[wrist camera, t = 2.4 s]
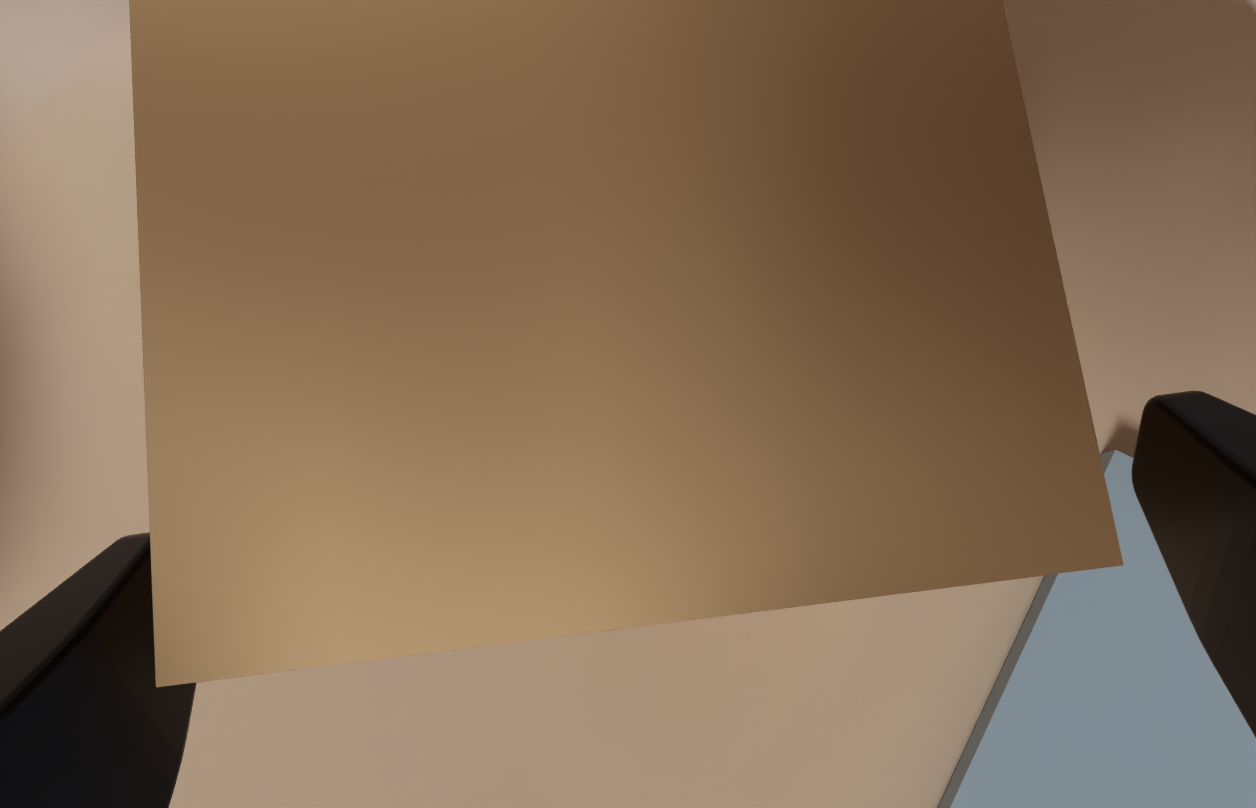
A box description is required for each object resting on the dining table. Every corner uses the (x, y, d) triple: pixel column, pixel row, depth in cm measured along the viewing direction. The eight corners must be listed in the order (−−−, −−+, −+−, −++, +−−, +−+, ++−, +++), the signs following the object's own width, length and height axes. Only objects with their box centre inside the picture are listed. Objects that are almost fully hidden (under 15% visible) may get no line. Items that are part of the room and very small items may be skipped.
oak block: (824, 565, 18) (1122, 565, 5) (554, 600, 18) (156, 687, 5) (781, 303, 18) (938, -293, 6) (525, 340, 19) (123, -143, 6)
